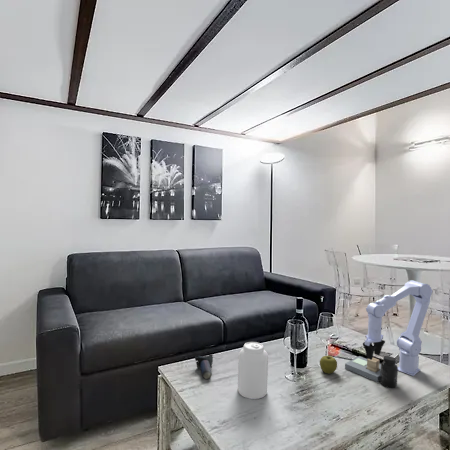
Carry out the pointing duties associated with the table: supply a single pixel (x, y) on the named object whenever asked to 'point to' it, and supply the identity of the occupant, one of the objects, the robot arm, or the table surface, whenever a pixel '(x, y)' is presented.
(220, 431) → the table surface
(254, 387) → the can
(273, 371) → the table surface
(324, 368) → the apple
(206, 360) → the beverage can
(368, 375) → the pocket board
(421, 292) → the robot arm
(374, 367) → the beech block
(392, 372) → the supplement bottle
